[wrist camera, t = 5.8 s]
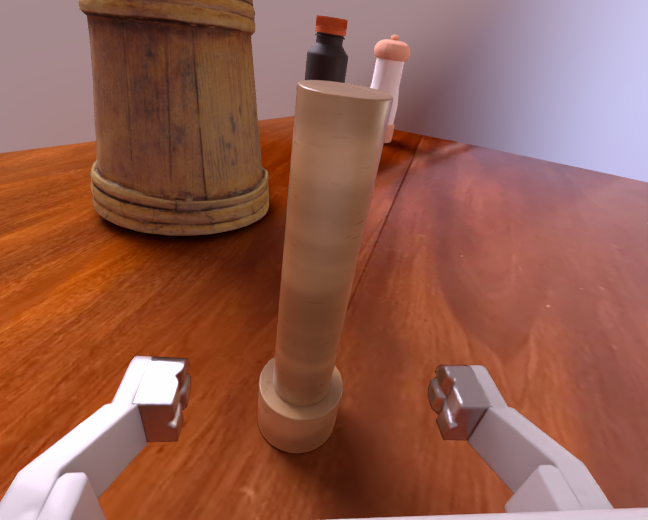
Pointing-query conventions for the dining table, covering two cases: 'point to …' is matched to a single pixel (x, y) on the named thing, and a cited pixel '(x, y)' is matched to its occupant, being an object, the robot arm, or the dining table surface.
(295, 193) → the wooden pestle
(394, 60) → the pepper shaker
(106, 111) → the tankard
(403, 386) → the dining table surface
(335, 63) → the bottle
